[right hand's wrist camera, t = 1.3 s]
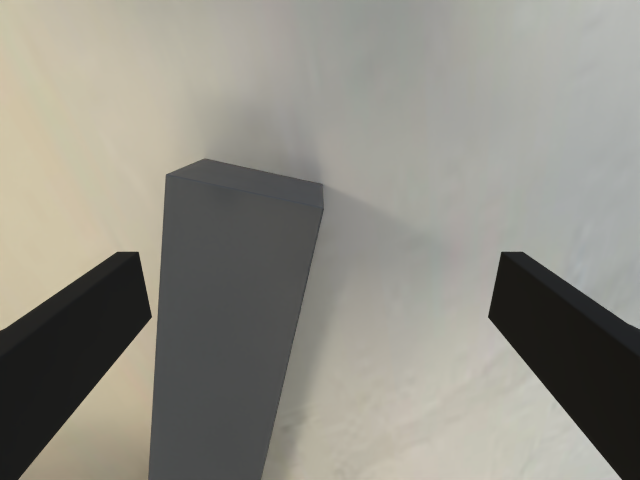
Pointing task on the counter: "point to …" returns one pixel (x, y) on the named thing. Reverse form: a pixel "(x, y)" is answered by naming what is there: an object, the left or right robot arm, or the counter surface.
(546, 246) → the counter surface
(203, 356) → the wide beam
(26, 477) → the counter surface
